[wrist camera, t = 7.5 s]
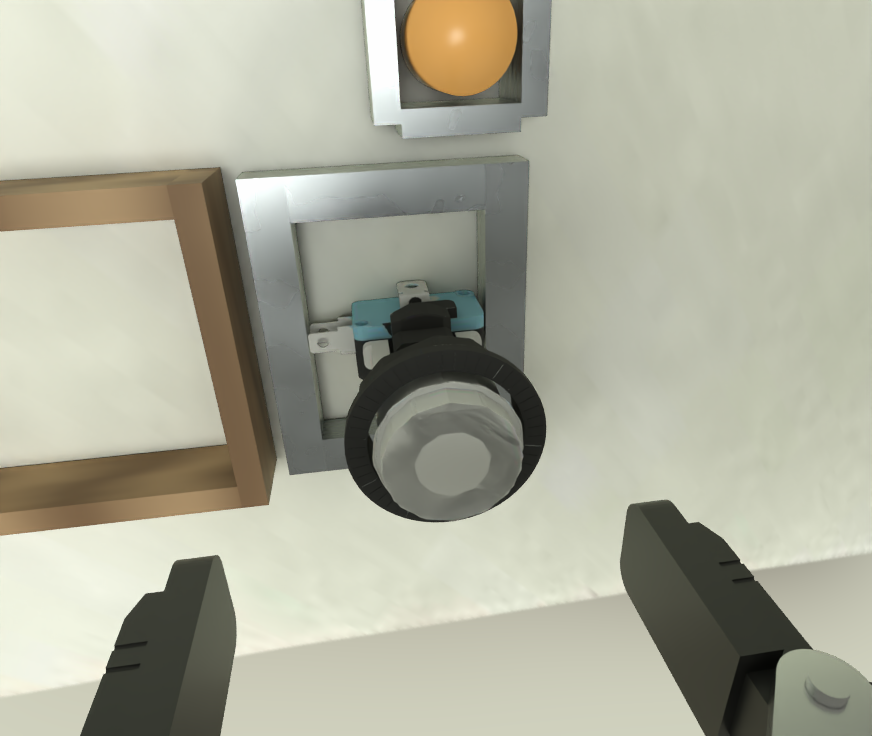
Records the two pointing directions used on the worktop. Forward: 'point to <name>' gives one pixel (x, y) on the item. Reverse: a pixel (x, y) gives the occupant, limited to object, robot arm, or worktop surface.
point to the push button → (433, 406)
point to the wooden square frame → (224, 345)
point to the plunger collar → (517, 98)
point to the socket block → (365, 198)
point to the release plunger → (458, 43)
